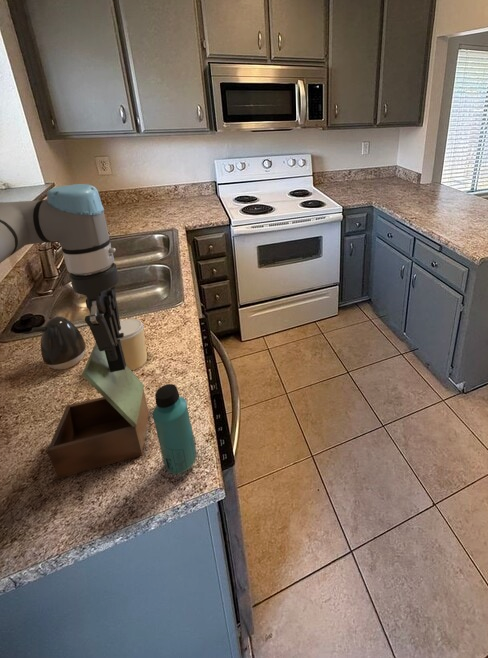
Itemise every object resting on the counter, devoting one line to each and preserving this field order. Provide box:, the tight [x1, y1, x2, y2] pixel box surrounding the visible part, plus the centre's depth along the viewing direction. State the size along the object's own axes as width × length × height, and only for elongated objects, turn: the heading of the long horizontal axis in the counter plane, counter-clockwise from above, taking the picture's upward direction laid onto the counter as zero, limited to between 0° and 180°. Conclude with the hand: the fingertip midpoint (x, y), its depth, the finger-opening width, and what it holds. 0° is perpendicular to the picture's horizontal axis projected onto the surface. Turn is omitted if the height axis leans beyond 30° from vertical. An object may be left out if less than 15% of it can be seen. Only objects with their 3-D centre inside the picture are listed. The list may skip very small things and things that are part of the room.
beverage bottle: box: [152, 383, 198, 475], centre depth 71 cm, size 6×7×20 cm
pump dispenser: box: [31, 316, 87, 370], centre depth 101 cm, size 10×10×15 cm
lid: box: [81, 341, 145, 427], centre depth 75 cm, size 17×12×1 cm
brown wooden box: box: [46, 390, 150, 479], centre depth 78 cm, size 16×12×8 cm
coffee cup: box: [118, 318, 148, 372], centre depth 102 cm, size 9×9×12 cm
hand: (118, 368), depth 75 cm, fingers closed
